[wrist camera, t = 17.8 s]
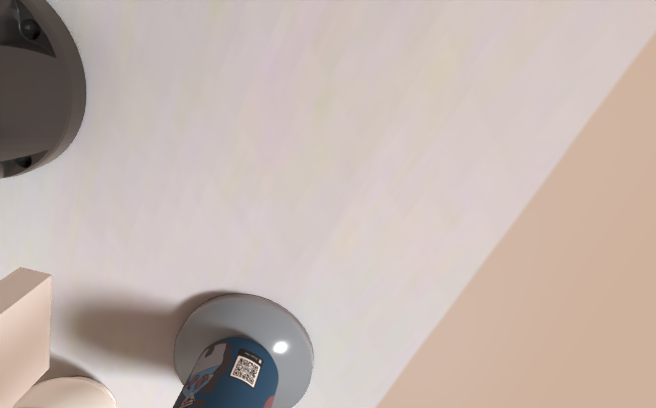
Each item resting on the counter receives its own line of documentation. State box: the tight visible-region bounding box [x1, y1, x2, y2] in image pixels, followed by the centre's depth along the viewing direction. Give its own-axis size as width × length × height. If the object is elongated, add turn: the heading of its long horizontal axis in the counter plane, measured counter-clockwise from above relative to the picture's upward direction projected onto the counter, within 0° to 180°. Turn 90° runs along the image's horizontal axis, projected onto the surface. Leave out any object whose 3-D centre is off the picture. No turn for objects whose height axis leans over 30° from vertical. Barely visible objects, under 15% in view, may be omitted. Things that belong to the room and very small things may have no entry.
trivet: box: [174, 294, 314, 408], centre depth 44 cm, size 12×12×2 cm
